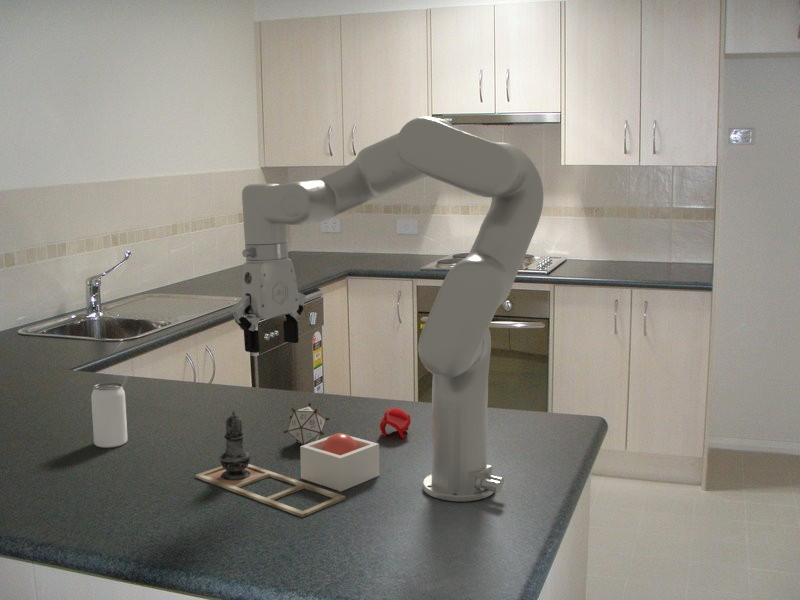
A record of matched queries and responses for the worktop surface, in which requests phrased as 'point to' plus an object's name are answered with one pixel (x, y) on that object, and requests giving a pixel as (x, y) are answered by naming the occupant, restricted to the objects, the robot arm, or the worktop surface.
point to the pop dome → (339, 444)
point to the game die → (306, 425)
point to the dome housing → (339, 464)
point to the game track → (259, 474)
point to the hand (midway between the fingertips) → (272, 346)
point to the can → (109, 415)
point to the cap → (395, 421)
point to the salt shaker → (234, 451)
